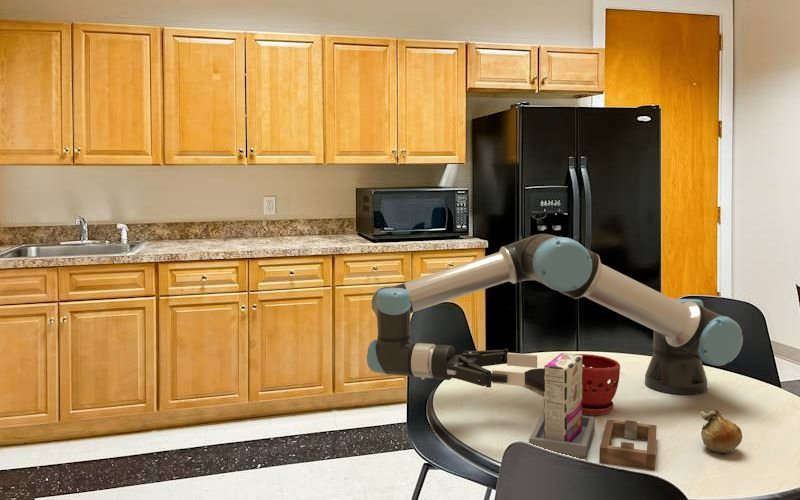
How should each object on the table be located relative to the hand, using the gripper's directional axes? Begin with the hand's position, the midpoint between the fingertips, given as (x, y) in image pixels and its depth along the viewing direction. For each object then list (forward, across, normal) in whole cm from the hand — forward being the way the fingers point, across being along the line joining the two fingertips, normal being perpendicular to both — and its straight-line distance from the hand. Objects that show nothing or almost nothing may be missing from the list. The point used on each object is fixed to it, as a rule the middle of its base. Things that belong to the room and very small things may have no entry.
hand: (531, 369), depth 141 cm
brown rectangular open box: (+20, 0, -15) cm, 25 cm away
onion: (+37, -6, -15) cm, 40 cm away
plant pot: (+10, -22, -15) cm, 28 cm away
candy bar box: (+7, 0, -14) cm, 15 cm away
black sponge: (-2, -34, -15) cm, 37 cm away
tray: (+7, 0, -15) cm, 16 cm away
